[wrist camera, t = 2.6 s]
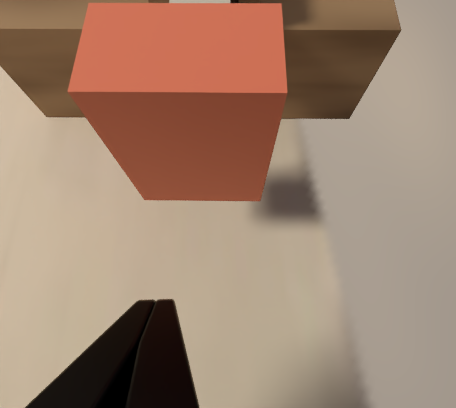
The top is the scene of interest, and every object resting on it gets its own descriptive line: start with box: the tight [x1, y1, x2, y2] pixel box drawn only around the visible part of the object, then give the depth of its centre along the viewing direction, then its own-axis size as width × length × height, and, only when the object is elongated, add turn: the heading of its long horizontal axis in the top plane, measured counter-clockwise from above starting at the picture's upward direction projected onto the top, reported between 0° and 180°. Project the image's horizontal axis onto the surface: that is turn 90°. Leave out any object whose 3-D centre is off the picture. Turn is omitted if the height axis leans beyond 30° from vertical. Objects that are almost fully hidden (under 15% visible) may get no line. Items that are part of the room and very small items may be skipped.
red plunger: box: [67, 0, 287, 201], centre depth 11 cm, size 13×4×6 cm, turn 179°
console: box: [0, 0, 401, 119], centre depth 16 cm, size 8×18×8 cm, turn 89°
